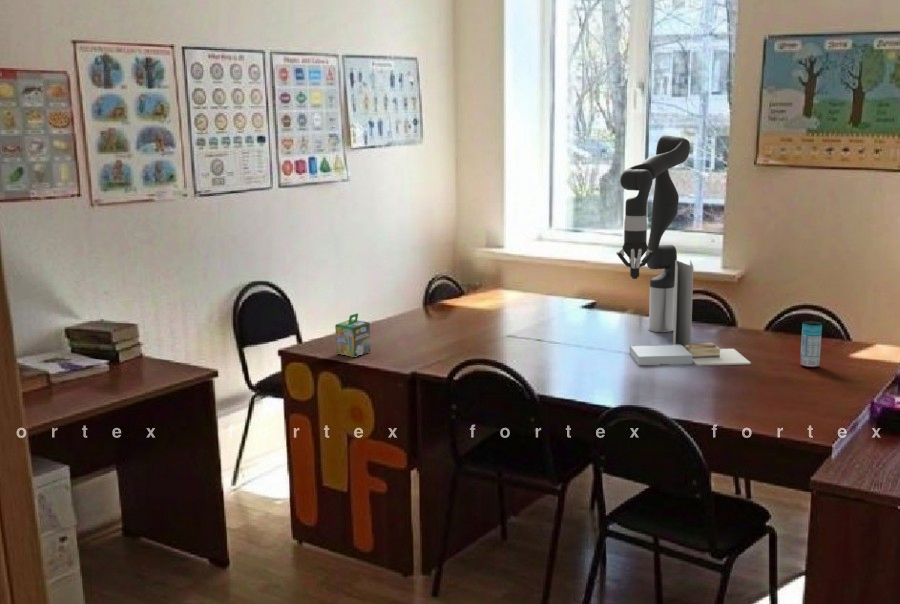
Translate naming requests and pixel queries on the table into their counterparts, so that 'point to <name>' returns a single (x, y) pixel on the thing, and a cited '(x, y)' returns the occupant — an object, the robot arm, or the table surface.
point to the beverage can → (811, 343)
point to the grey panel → (683, 303)
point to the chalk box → (353, 337)
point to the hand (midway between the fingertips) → (634, 278)
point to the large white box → (660, 354)
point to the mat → (723, 359)
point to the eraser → (703, 350)
